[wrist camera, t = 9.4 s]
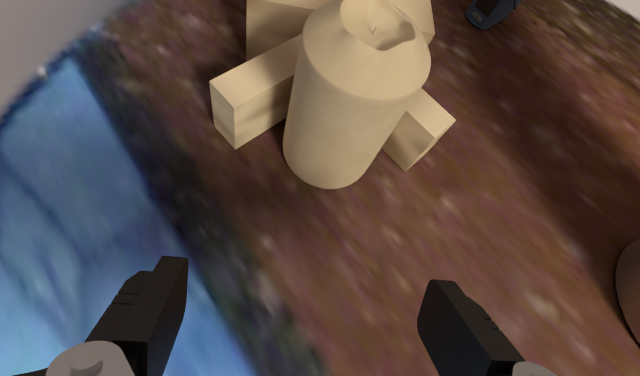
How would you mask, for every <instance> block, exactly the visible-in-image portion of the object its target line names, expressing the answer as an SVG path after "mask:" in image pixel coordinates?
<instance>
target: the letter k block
mask: <svg viewBox="0 0 640 376" xmlns="http://www.w3.org/2000/svg"><path fill="white" fill-rule="evenodd" d="M331 1H333V0H247V22H246V62H245V63H243V64H241V65H240V66H238V67H236V68H234V69H232V70H230V71H228V72H226V73H224V74H222V75H220V76H218V77H216V78H214V79H212V80H210V81H209V84H210V93H211V101H212V110H213V118H214V126H215V128H216V129H217V130H218V131H219V132H220V133H221V134H222V135H223V137H224V138H225V139H226V140H227V141H228V142H229V143H230V144H231V146H232V147H233V148H234V149H235V150H236V149H237V148H239V147H240V146H242V145H244V144H245V143H247V142H248V141H250V140H252V139H253V138H255V137H256V136H258V135H260V134H261V133H263V132H264V131H266V130H268V129H269V128H271V127H272V126H274V125H276V124H277V123H279V122H280V121H282V120H283V119H285V118H287V114H288V108H289V103H290V97H291V92H292V86H293V81H294V75H295V70H296V64H297V59H298V53H299V48H300V42H301V37H302V31H303V27H304V24H305V22H306V20H307V18H308V17H309V16H310V14H311V13H312V12H313V11H314V10H316V9H317V8H318V7H320V6H322V5H324V4H326V3H328V2H331ZM388 1H389V2H390V3H391V4H393V5H394V6H396V7H397V8H398V9H400V10H401V11H402V12H404V13H405V14H406V15H407V16H408V17H409V18H410V19H411V20H412V21H413V22H414V23H415V24H416V25H417V27H418V28H419V30H420V32H421V33H422V35H423V37H424V39H425V41H426V43H427V46H428V45H429V43H430V42H431V40H432V38H433V37H434V35H435V30H434V22H433V15H432V8H431V1H430V0H388ZM455 121H456V120H455V119H454V118H453V117H452V116H451V115H450V114H449V113H448V112H447V111H446V110H445V109H443V108H442V107H441V106H440V105H439V104H438V103H437V102H436V101H435V100H434V99H433V98H432V97H431V96H429V95H428V94H427V93H426V92H425V91H424V90H423V89H422V88H421V89H420V90H419V92H418V93H417V95H416V96H415V98H414V99H413V101H412V102H411V104H410V105H409V107H408V108H407V110H406V111H405V113H404V114H403V116H402V117H401V119H400V120H399V122H398V123H397V125H396V126H395V128H394V129H393V131H392V132H391V134H390V135H389V137H388V138H387V140H386V141H385V143H384V144H383V146H382V147H381V148H382V149H383V150H384V151H385V152H386V153H387V154H388V155H389V156H390V157H391V158H392V159H393V160H394V161H395V162H396V163H397V164H398V165H399V166H400V167H401V168H402V169H403V170H404V171H407V170H408V169H409V168H410V167H411V166H412V165H414V164H415V163H416V162H417V161H418V160H419V159H420V158H422V157H423V156H424V155H425V154H426V153H427V152H428V150H429V149H430V148H431V147H432V146H433V145H434V144H435V143H436V142H437V141H438V139H439V138H440V137H441V136H442V135H443V134H444V133H445V132H446V131H447V130H448V128H449V127H450V126H451V125H452V124H453V123H454V122H455Z"/></svg>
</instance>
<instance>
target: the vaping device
mask: <svg viewBox="0 0 640 376" xmlns="http://www.w3.org/2000/svg"><path fill="white" fill-rule="evenodd" d="M521 1H522V0H474V1H473V2H472V4H471V5H470V7H469V8H468V10H467V11H466V13H465V15H466V16H467V18H468V19H469V21H470V22H471V23H472V24H474V25H475V26H477V27H478V28H480V29H481V30H486V29H488V28H489V27H491V26H493V25H494V24H496V23H498V22H499V21H501V20H503V19H504V18H506V17H507V16H508V15H509V13H510V12H511V11H512V9H515V8H516V7H517V6H518V4H519V3H520V2H521Z"/></svg>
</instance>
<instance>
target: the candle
mask: <svg viewBox="0 0 640 376" xmlns="http://www.w3.org/2000/svg"><path fill="white" fill-rule="evenodd" d="M430 67H431V57H430V52H429V49H428V46H427V43H426V41H425V39H424V37H423V35H422V33H421V32H420V30H419V28H418V27H417V25H416V24H415V23H414V22H413V21H412V20H411V19H410V18H409V17H408V16H407V15H406V14H405V13H404V12H402V11H401V10H400V9H398V8H397V7H396V6H394V5H393V4H391V3H390V2H389V1H388V0H333V1H331V2H328V3H326V4H324V5H322V6H320V7H318V8H317V9H316V10H314V11H313V12H312V13H311V14H310V16H309V17H308V18H307V20H306V22H305V24H304V27H303V31H302V37H301V42H300V48H299V53H298V59H297V64H296V70H295V75H294V81H293V86H292V92H291V97H290V103H289V108H288V114H287V119H286V125H285V130H284V137H283V152H284V157H285V160H286V162H287V164H288V166H289V168H290V169H291V170H292V172H293V173H294V174H295V175H296V176H297V177H298V178H300V179H301V180H302V181H304V182H306V183H307V184H309V185H312V186H314V187H317V188H322V189H339V188H343V187H346V186H348V185H351V184H352V183H354V182H355V181H357V180H358V179H359V178H360V177H361V176H362V175H363V174H364V172H365V171H366V170H367V168H368V167H369V166H370V164H371V162H372V161H373V159H374V158H375V156H376V155H377V153H378V152H379V150H380V149H381V147H382V146H383V144H384V143H385V141H386V140H387V138H388V137H389V135H390V134H391V132H392V131H393V129H394V128H395V126H396V125H397V123H398V122H399V120H400V119H401V117H402V116H403V114H404V113H405V111H406V110H407V108H408V107H409V105H410V104H411V102H412V101H413V99H414V98H415V96H416V95H417V93H418V92H419V90H420V89H421V87H422V86H423V84H424V83H425V81H426V79H427V77H428V75H429V72H430Z"/></svg>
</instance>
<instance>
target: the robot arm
mask: <svg viewBox="0 0 640 376" xmlns="http://www.w3.org/2000/svg"><path fill="white" fill-rule="evenodd" d="M615 274H616V290H617V295H618V299H619V304H620V307H621V309H622V312H623V314H624V317H625V319H626V322H627V324H628V325H629V327H630V329H631V331H632V333H633V334H634V336H635V338H636V339H637V341H638V342H639V343H640V239H639V240H636V241H634V242H632V243H630V244H629V245H628V246H627V247H626V248H625V249H624V250H623V252H622V254H621V256H620V258H619V260H618V263H617V268H616V273H615ZM187 279H188V258H183V257H171V256H162V257H161V258H160V260H159V261H158V263H157V265H156V267H155V268H154V270H153V272H151V271H140V272H138V273H137V274H135V275H134V276H132V277H131V278H129V279H128V280H126V282H125V283H124V284H123V286H122V287H121V289H120V290H119V292H118V295H116V296H115V298H114V299H113V301H112V302H111V305H109V307H108V308H107V310H106V311H105V312H104V314H103V315H102V317H101V318H100V320H99V321H98V323H97V324H96V326H95V327H94V329H93V330H92V332H91V333H90V335H89V336H88V338H87V339H86V340H85V342H84V343H82V344H78V345H76V346H73V347H71V348H69V349H67V350H66V351H64V352H63V353H61V354H60V355H59V356H57V357H56V358H55V359H54V360H53V361H52V363H51V364H50V365H49V367H48V368H45V369H42V370H38V371H34V372H29V373H24V374H19V375H14V376H162V375H163V373H164V370H165V367H166V364H167V362H168V359H169V356H170V353H171V351H172V348H173V345H174V342H175V340H176V337H177V334H178V331H179V329H180V326H181V323H182V320H183V317H184V312H185V307H186V298H187ZM417 328H418V333H419V336H420V338H421V340H422V342H423V344H424V346H425V348H426V350H427V352H428V354H429V356H430V358H431V360H432V361H433V363H434V365H435V367H436V369H437V371H438V373H439V375H440V376H557V375H555V374H554V373H553V372H551V371H550V370H548V369H546V368H544V367H542V366H540V365H538V364H535V363H531V362H526V361H525V360H524V358H523V357H522V356H521V355H520V354H519V352H518V351H517V350H516V349H515V347H514V346H513V345H512V344H511V342H510V341H509V340H508V339H507V337H506V336H505V335H504V334H503V333H502V331H500V330H499V328H498V326H497V325H496V324H495V323H494V321H491V318H490V316H489V315H488V314H487V313H486V312H485V310H484V309H483V308H482V307H481V306H480V305H478V304H477V303H476V302H474V301H473V300H472V299H470V298H469V297H467V296H466V295H465V294H464V293H463V291H462V290H461V289H460V287H459V286H458V285H457V284H456V283H455V282H454V281H446V280H434V279H432V280H430V281H429V283H428V285H427V288H426V292H425V295H424V298H423V301H422V305H421V308H420V311H419V314H418V319H417Z"/></svg>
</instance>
